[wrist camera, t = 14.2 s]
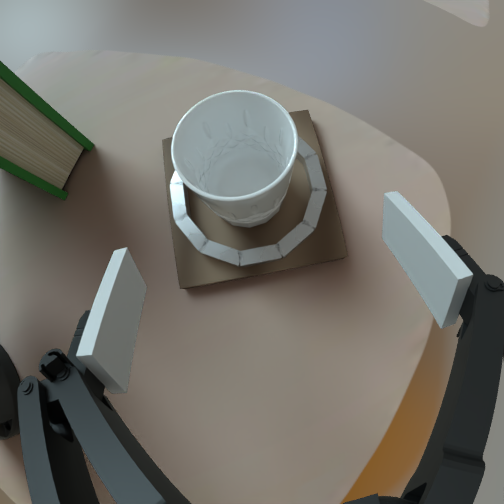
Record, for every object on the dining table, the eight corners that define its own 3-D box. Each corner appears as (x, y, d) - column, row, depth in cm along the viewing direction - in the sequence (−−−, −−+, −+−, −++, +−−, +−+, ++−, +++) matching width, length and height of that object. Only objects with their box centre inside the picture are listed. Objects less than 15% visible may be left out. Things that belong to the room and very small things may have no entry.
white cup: (203, 157, 29) (173, 99, 19) (286, 149, 28) (289, 85, 19) (206, 238, 28) (169, 207, 18) (295, 230, 27) (306, 194, 17)
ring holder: (184, 288, 29) (174, 288, 26) (166, 146, 31) (157, 133, 28) (344, 258, 28) (351, 253, 25) (306, 117, 30) (309, 101, 27)
